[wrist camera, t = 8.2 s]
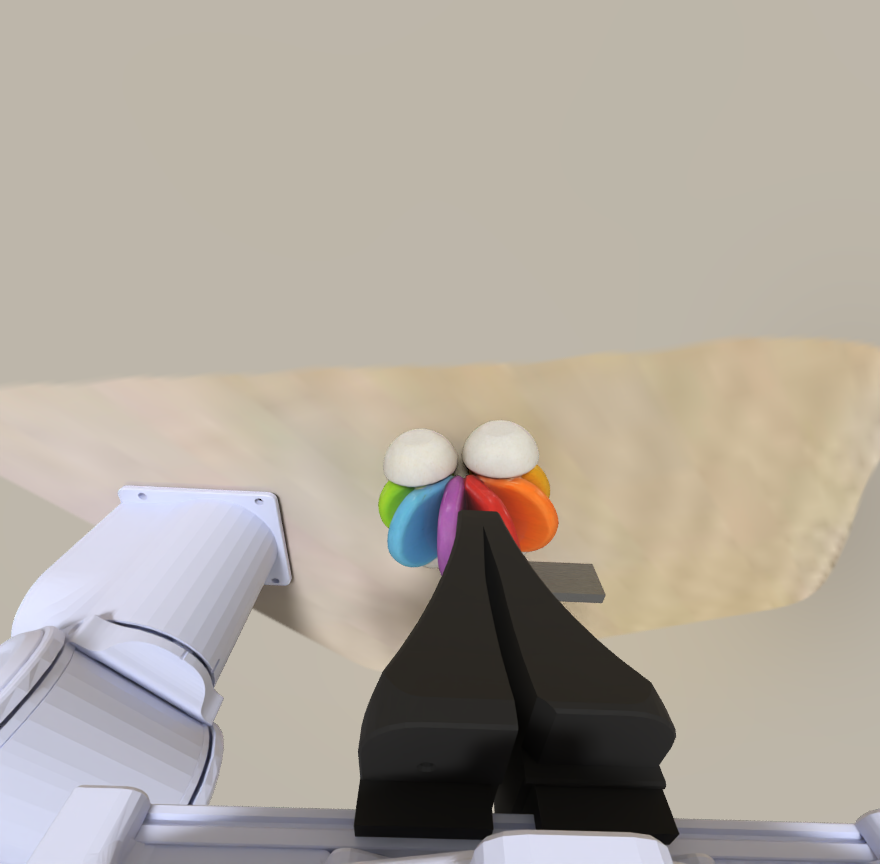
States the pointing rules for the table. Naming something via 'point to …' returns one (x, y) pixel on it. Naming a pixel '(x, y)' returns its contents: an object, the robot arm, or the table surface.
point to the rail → (570, 581)
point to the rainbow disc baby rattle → (463, 491)
